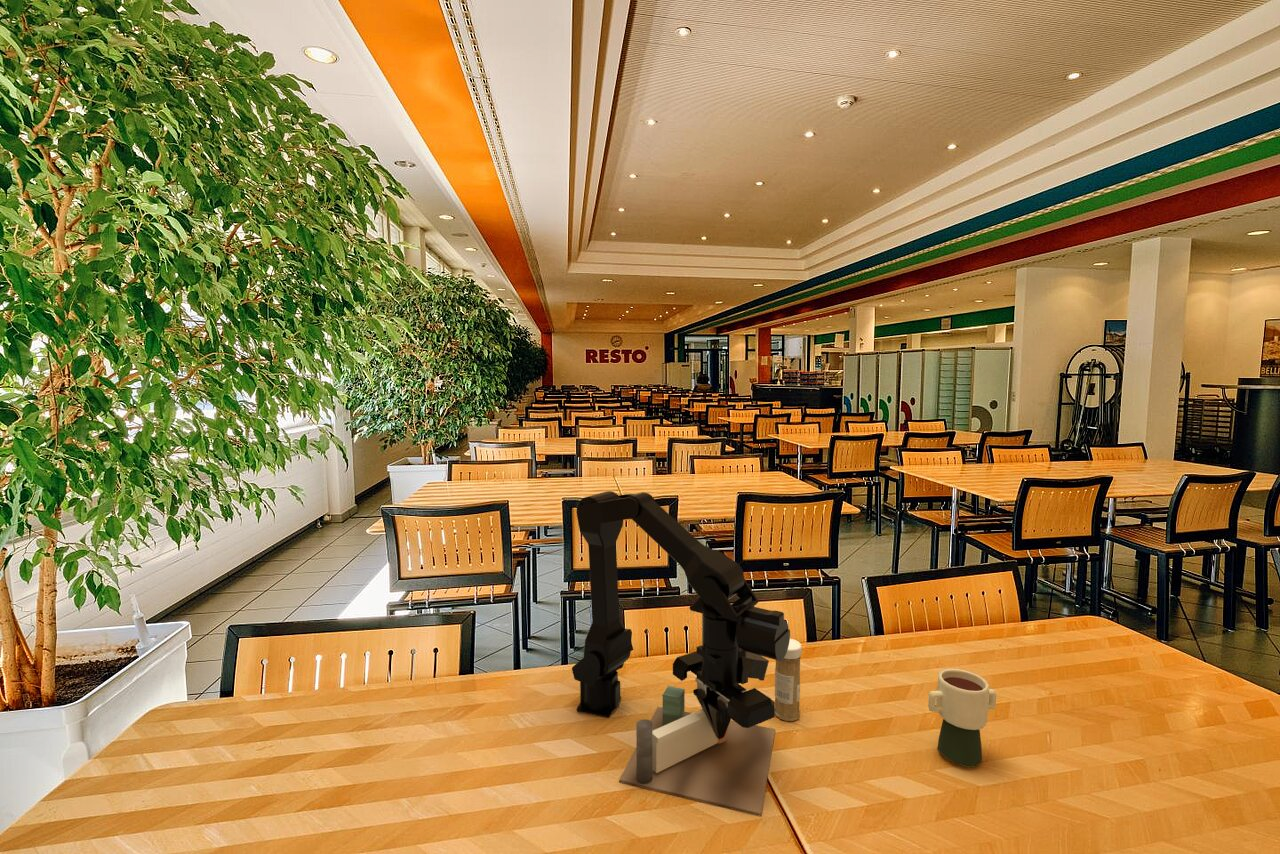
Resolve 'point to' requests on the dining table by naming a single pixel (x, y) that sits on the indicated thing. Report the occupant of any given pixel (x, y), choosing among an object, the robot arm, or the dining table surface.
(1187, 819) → the dining table surface
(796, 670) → the sprinkles bottle
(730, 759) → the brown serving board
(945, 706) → the character mug
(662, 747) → the orange and cream block
